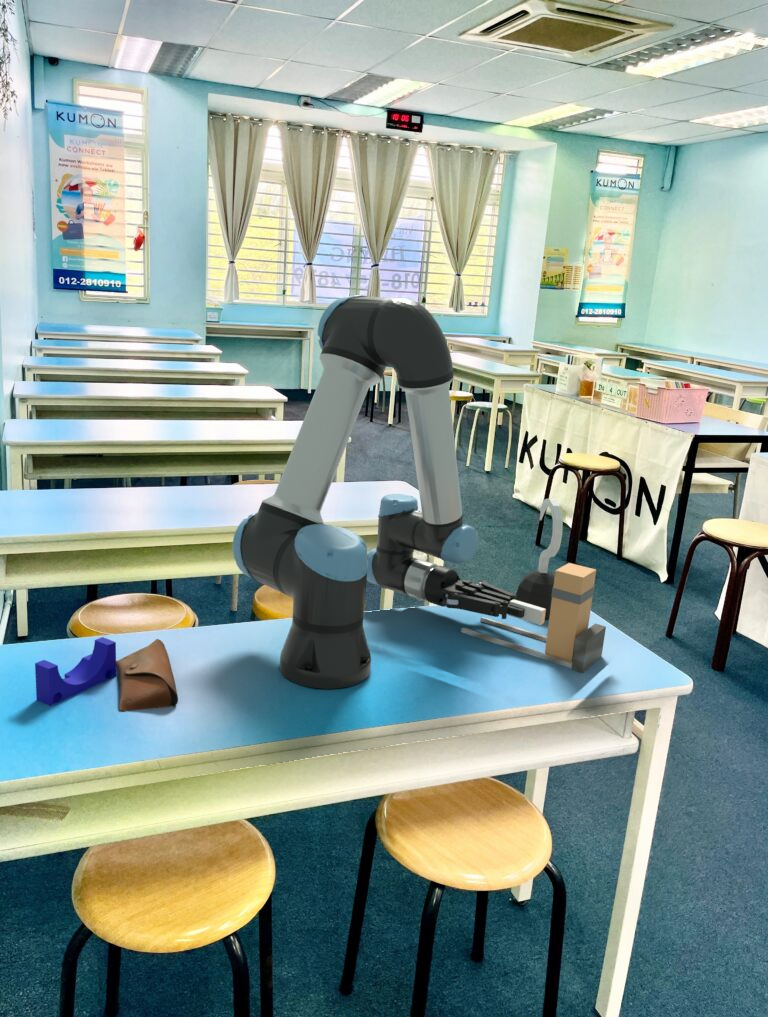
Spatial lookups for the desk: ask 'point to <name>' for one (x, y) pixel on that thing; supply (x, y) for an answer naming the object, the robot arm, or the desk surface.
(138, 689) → the sunglasses case
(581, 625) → the tan box with band
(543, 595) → the hook
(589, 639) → the track
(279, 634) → the desk surface
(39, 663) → the purple cradle bracket
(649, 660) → the desk surface
